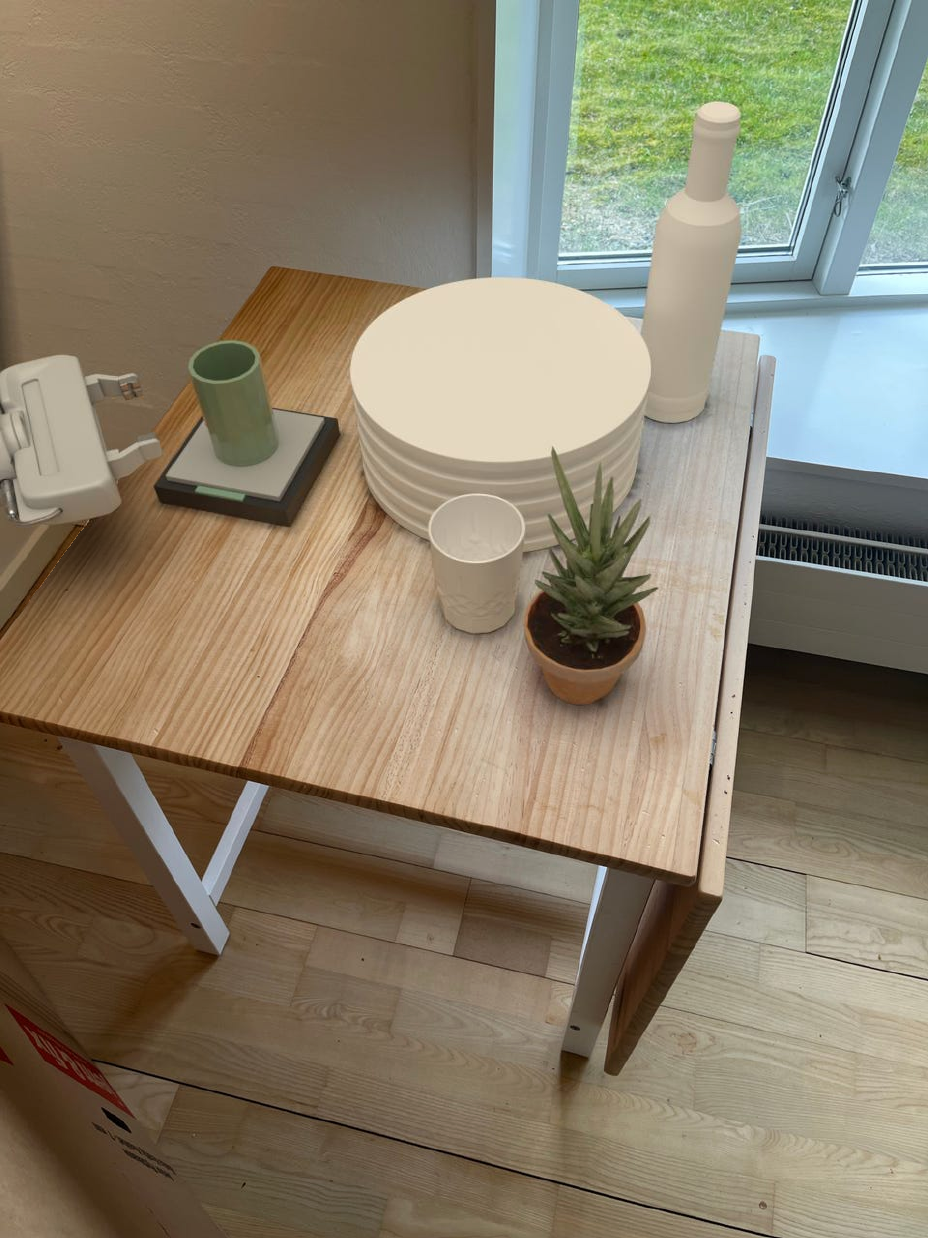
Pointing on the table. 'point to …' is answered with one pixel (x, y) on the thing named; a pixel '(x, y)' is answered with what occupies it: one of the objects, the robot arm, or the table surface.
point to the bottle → (692, 271)
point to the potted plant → (588, 601)
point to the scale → (251, 471)
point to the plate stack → (499, 400)
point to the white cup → (477, 560)
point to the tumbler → (234, 402)
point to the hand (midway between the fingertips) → (149, 412)
